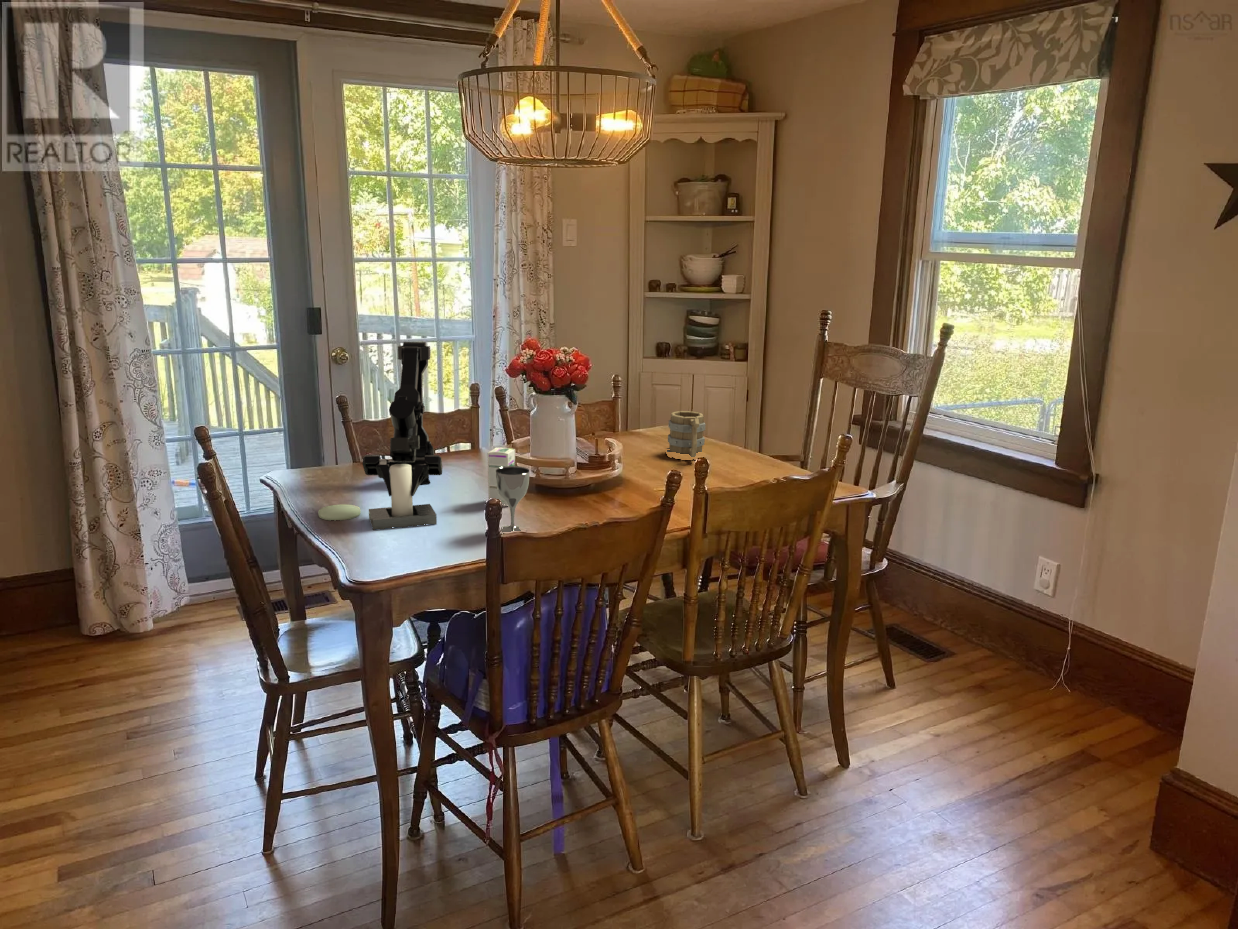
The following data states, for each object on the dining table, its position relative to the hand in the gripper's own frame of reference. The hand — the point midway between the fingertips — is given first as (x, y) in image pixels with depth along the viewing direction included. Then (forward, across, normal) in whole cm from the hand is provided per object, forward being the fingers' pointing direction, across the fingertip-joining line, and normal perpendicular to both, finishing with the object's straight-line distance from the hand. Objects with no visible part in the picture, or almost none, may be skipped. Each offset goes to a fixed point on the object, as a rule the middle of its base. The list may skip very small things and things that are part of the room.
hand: (401, 495), depth 214 cm
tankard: (-39, +83, +50) cm, 104 cm away
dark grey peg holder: (+4, 0, +6) cm, 7 cm away
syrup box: (-6, +24, +17) cm, 30 cm away
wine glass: (+9, +27, +1) cm, 28 cm away
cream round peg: (+4, 0, +6) cm, 7 cm away
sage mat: (0, -16, +10) cm, 19 cm away
